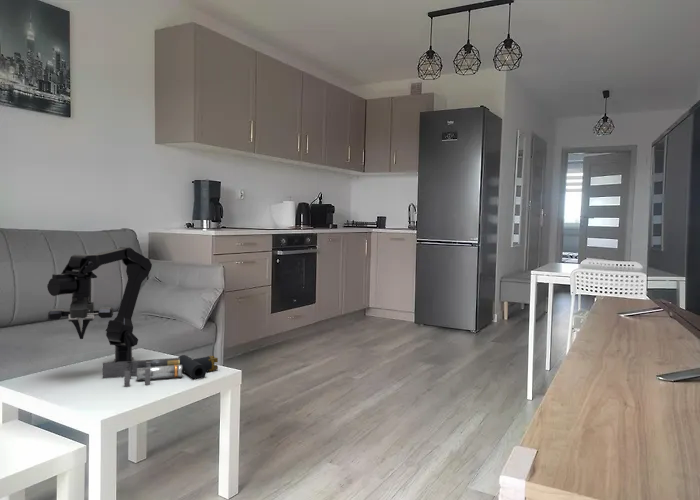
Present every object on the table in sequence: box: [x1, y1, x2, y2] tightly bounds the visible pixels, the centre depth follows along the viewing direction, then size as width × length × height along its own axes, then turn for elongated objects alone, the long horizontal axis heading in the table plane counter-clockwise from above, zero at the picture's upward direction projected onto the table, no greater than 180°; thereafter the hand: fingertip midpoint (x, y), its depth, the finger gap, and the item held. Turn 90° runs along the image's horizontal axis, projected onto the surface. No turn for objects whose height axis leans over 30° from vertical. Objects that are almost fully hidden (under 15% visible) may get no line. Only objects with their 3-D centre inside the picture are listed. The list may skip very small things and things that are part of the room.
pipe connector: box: [177, 354, 219, 380], centre depth 176 cm, size 12×5×15 cm
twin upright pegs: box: [123, 361, 151, 388], centre depth 164 cm, size 10×8×5 cm
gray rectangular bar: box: [102, 357, 180, 379], centre depth 169 cm, size 4×24×5 cm, turn 110°
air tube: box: [136, 365, 183, 381], centre depth 167 cm, size 14×4×4 cm
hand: (81, 338), depth 169 cm, fingers closed
